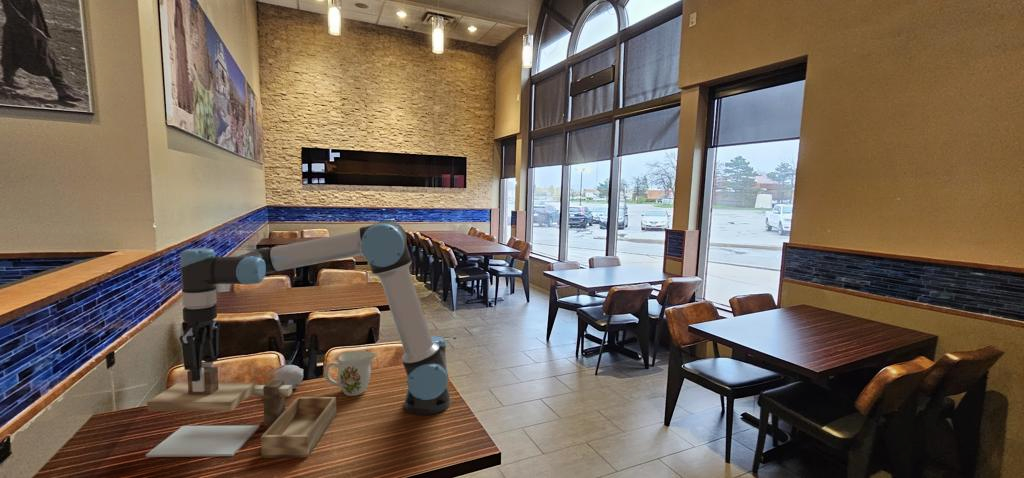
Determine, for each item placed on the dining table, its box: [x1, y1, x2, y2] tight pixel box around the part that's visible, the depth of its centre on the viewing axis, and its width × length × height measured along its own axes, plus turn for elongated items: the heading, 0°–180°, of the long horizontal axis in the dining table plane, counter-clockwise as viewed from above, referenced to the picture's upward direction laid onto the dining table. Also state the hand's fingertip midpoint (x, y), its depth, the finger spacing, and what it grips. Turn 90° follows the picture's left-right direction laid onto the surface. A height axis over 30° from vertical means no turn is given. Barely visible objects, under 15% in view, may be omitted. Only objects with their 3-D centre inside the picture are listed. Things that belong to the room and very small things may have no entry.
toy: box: [267, 364, 304, 390], centre depth 153 cm, size 13×9×15 cm
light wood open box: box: [260, 379, 337, 459], centre depth 124 cm, size 19×22×12 cm
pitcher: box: [324, 350, 378, 397], centre depth 151 cm, size 11×18×14 cm, turn 96°
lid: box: [146, 366, 255, 412], centre depth 118 cm, size 12×21×9 cm, turn 94°
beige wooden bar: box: [247, 384, 293, 398], centre depth 129 cm, size 22×3×3 cm, turn 94°
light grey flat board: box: [145, 425, 261, 458], centre depth 120 cm, size 22×14×1 cm, turn 94°
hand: (203, 387), depth 118 cm, fingers closed on lid, 3 cm apart
